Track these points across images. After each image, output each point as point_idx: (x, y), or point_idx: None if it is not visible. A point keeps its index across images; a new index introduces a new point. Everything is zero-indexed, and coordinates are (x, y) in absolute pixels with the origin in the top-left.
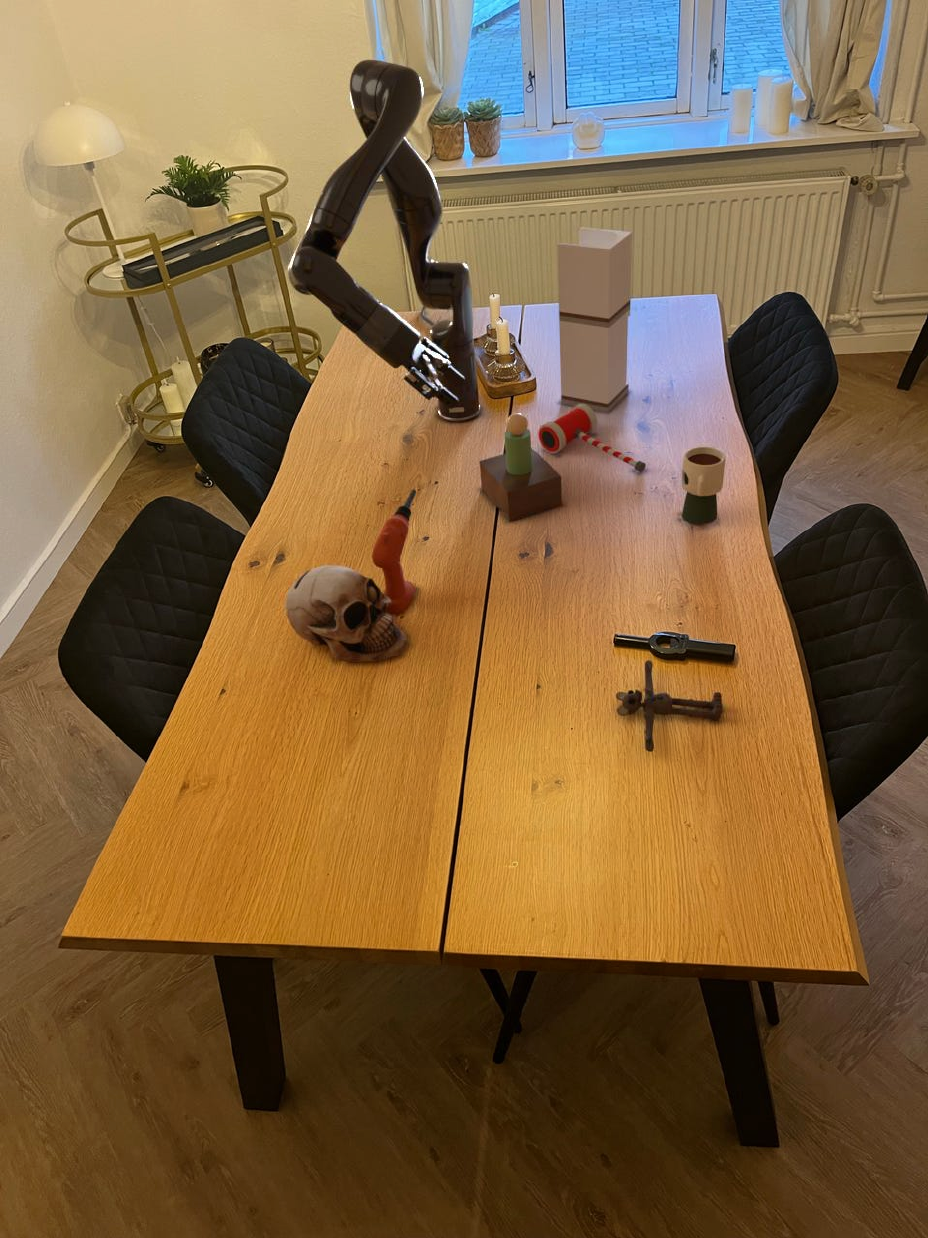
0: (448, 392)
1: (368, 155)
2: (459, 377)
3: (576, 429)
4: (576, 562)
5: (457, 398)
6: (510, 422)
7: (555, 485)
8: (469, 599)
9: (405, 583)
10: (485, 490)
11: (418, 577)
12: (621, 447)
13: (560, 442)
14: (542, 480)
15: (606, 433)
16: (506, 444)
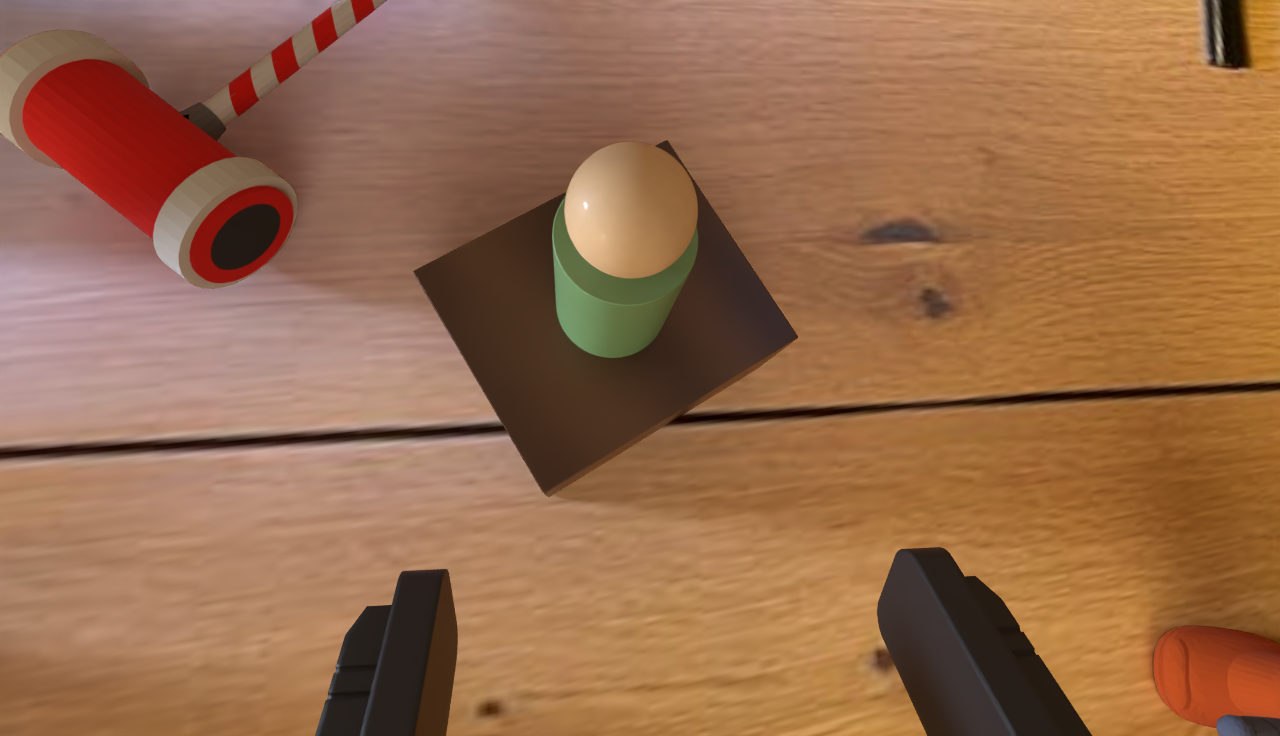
0: (1007, 662)
1: None
2: (438, 629)
3: (188, 120)
4: (947, 153)
5: (919, 558)
6: (682, 227)
7: None
8: (1166, 443)
9: (1260, 658)
10: (581, 476)
11: (1099, 634)
12: (258, 11)
13: (288, 185)
14: (703, 207)
15: (137, 57)
16: (663, 307)
